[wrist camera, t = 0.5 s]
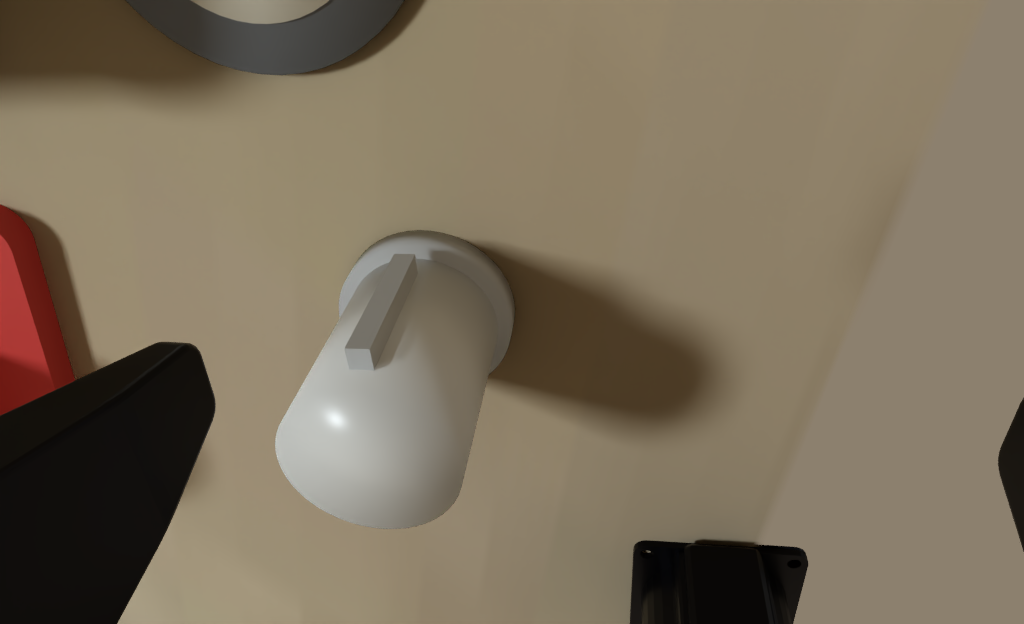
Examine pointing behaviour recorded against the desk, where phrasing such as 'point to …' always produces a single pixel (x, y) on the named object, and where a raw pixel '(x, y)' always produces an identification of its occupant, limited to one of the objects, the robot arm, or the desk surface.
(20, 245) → the bracket
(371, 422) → the white knob
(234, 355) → the desk surface
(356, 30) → the flange
